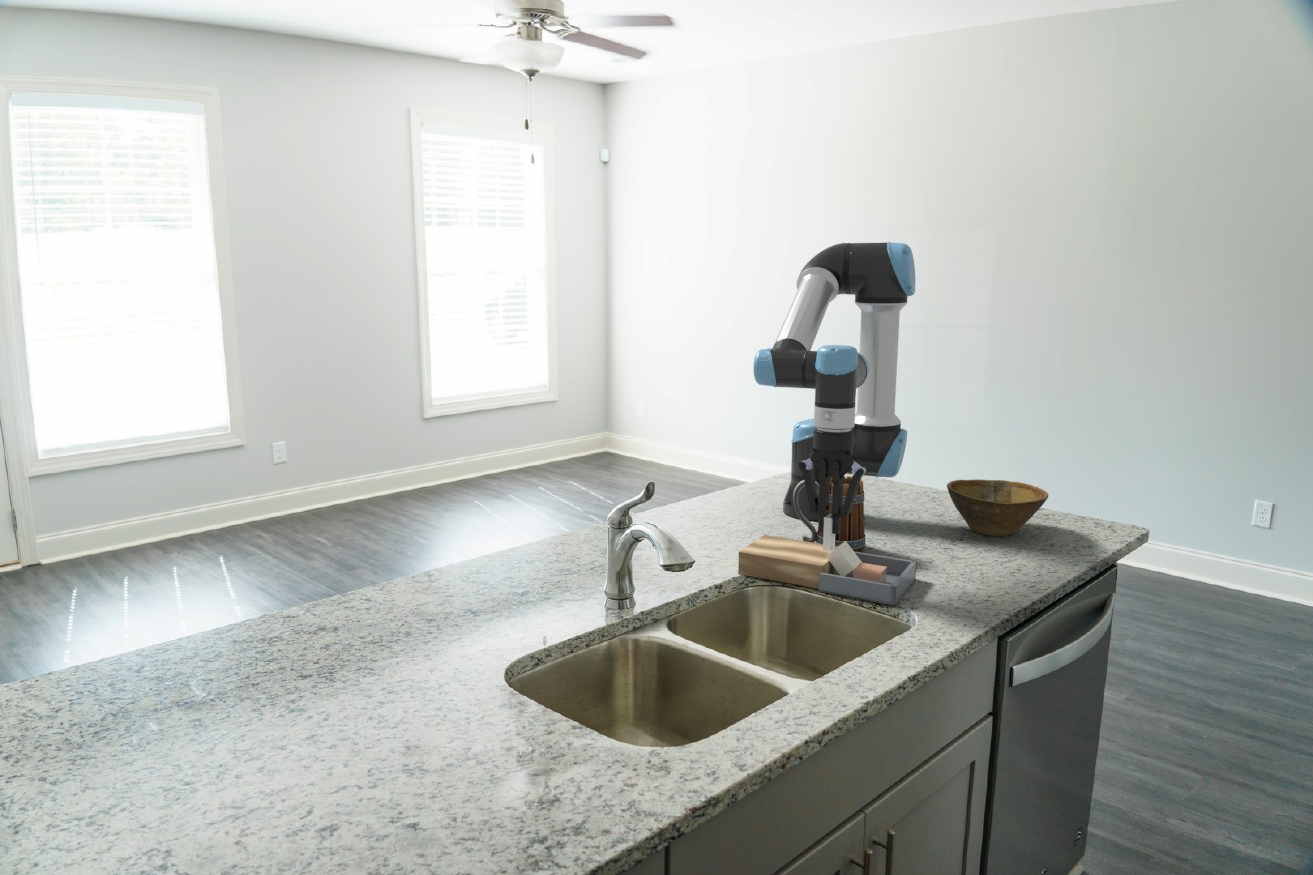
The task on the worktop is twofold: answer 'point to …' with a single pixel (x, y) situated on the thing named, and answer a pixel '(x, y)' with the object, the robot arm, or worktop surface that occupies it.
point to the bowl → (995, 504)
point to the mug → (849, 524)
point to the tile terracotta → (870, 572)
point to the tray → (888, 593)
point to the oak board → (785, 561)
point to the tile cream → (843, 559)
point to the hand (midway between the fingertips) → (828, 548)
